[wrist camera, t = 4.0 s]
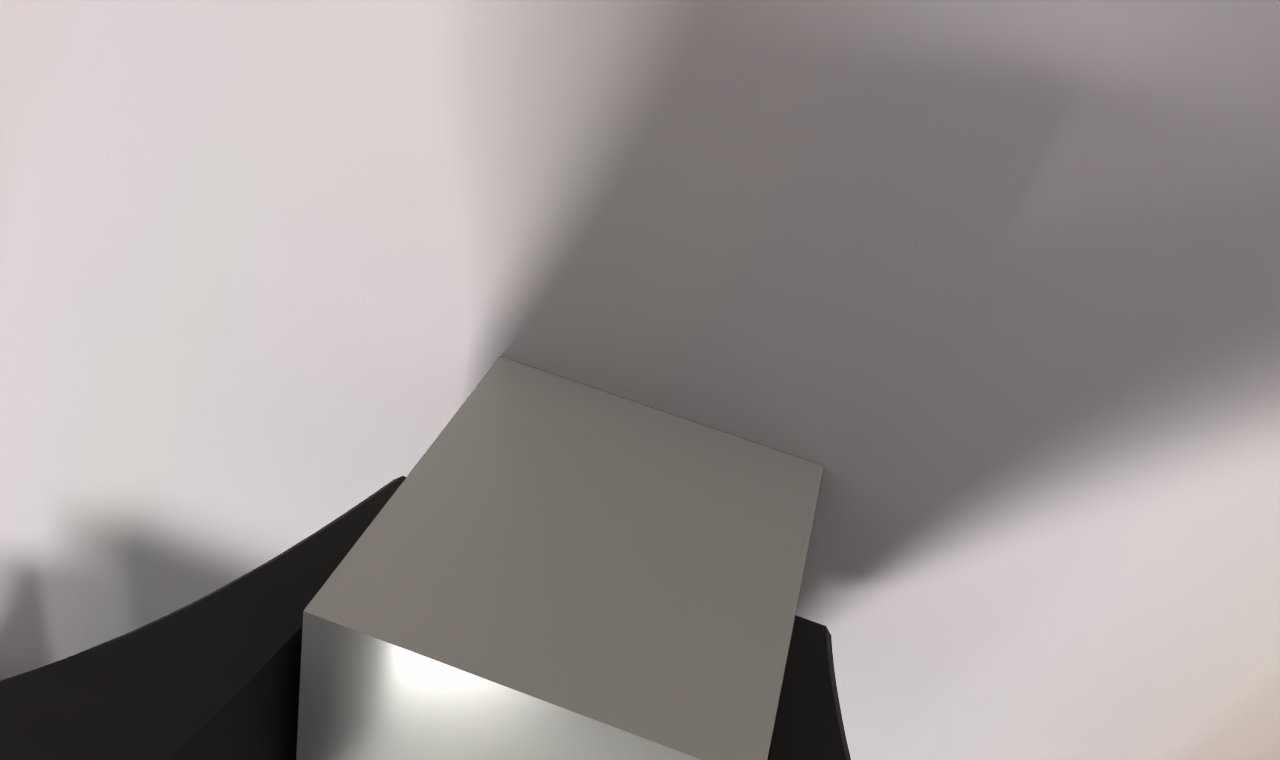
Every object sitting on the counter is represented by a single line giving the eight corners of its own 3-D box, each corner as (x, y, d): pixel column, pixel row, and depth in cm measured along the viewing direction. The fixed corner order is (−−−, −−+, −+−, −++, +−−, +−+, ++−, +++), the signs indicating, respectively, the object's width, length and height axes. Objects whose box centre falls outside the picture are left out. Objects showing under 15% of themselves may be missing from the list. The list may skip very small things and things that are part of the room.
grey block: (824, 465, 13) (763, 782, 9) (732, 689, 16) (652, 1018, 12) (500, 356, 14) (303, 611, 10) (460, 590, 16) (290, 873, 12)
